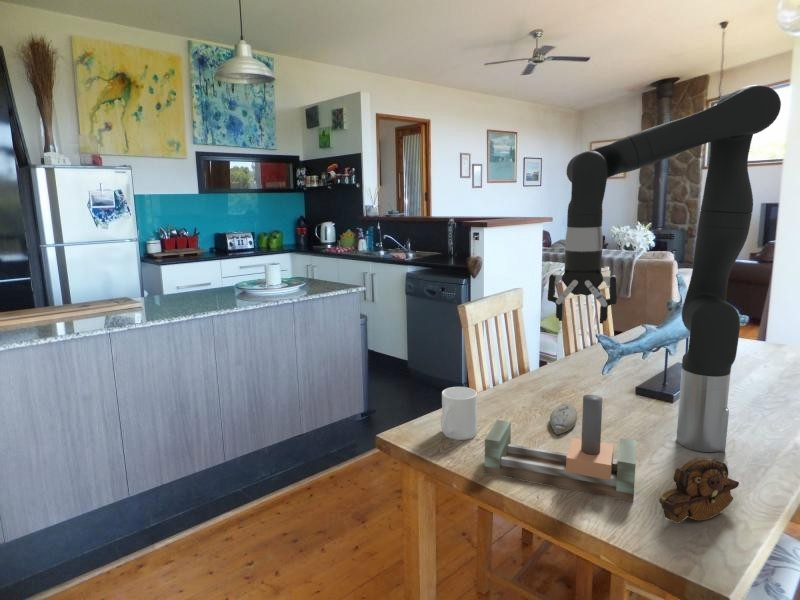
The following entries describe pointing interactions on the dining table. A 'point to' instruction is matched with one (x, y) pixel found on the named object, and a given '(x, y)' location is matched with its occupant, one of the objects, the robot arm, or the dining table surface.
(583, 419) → the carriage
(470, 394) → the mug
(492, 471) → the rail bed
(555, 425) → the decorative stone
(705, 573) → the dining table surface
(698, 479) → the wooden carving
